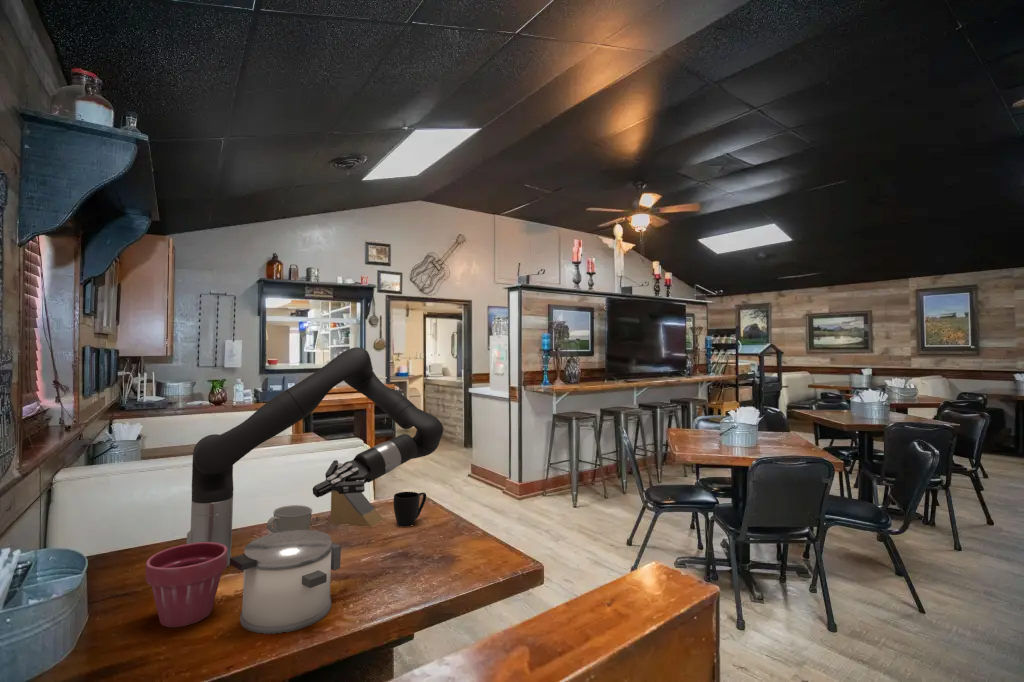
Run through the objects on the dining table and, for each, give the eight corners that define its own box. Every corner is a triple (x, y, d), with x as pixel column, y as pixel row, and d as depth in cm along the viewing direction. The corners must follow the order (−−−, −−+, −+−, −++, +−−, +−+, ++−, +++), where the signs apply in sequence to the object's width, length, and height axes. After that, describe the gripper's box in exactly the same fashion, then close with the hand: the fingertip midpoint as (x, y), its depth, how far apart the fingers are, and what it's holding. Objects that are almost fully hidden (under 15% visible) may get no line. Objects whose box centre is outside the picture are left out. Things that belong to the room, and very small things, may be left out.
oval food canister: (273, 649, 94) (275, 583, 94) (219, 610, 108) (221, 553, 108) (361, 609, 109) (363, 552, 110) (304, 579, 123) (306, 529, 123)
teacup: (298, 528, 160) (299, 502, 160) (318, 535, 153) (319, 508, 154) (254, 540, 148) (255, 512, 149) (274, 549, 142) (275, 520, 142)
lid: (256, 581, 94) (256, 570, 94) (216, 558, 105) (216, 548, 105) (347, 550, 110) (347, 541, 110) (304, 533, 120) (304, 524, 120)
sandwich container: (372, 528, 161) (374, 480, 161) (329, 524, 164) (331, 477, 165) (385, 520, 169) (386, 474, 170) (344, 516, 173) (345, 471, 173)
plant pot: (134, 641, 96) (137, 572, 96) (153, 607, 109) (155, 546, 109) (221, 626, 101) (223, 561, 102) (229, 595, 114) (231, 538, 115)
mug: (433, 521, 168) (433, 492, 168) (403, 530, 159) (403, 499, 159) (417, 516, 173) (418, 488, 174) (388, 524, 165) (388, 494, 165)
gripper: (362, 437, 131) (298, 466, 118) (393, 459, 123) (328, 493, 111) (363, 461, 134) (301, 492, 121) (394, 484, 126) (331, 520, 113)
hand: (314, 492), depth 116 cm, fingers closed
